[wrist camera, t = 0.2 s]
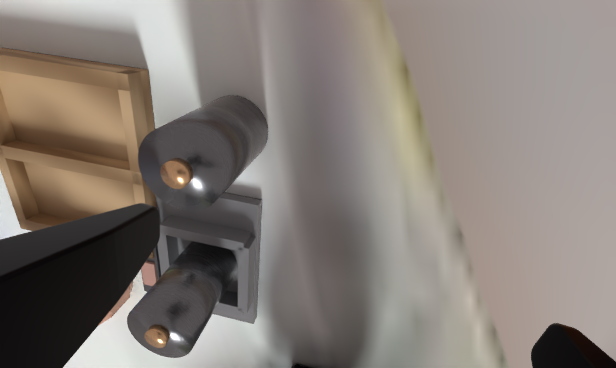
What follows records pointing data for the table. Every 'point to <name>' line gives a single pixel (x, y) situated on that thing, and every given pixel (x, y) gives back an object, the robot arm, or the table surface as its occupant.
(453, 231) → the table surface
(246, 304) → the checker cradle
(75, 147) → the trough board
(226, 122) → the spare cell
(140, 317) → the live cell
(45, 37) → the table surface
